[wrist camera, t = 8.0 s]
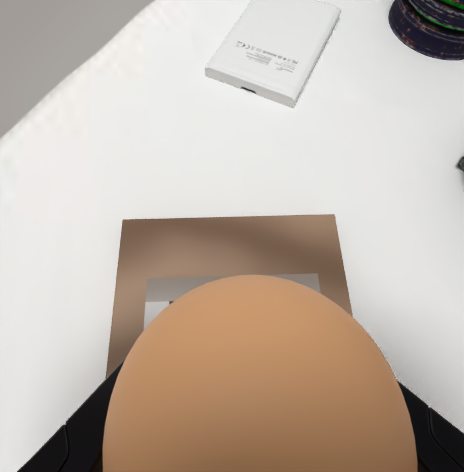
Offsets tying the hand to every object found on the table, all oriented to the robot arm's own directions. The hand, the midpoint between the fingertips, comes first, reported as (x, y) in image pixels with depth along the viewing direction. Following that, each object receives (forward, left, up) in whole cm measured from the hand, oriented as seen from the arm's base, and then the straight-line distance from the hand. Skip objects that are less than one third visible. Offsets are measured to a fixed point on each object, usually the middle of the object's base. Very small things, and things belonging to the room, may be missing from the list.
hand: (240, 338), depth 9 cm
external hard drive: (+11, -23, -9) cm, 27 cm away
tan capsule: (-1, +1, -7) cm, 7 cm away
